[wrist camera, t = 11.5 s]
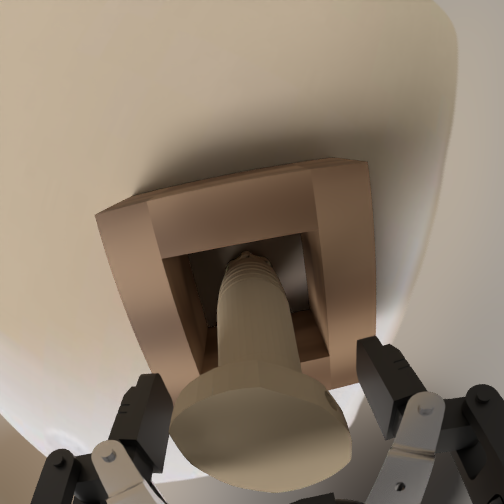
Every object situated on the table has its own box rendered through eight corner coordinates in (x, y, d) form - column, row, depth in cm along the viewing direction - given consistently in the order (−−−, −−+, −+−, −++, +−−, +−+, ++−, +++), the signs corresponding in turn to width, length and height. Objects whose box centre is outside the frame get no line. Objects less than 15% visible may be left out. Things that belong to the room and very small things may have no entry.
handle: (248, 215, 21) (274, 358, 7) (301, 283, 23) (375, 454, 9) (194, 257, 22) (137, 430, 8) (249, 319, 24) (265, 501, 9)
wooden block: (131, 196, 20) (94, 214, 14) (332, 157, 20) (367, 161, 14) (182, 361, 25) (171, 412, 19) (348, 332, 24) (373, 378, 19)
